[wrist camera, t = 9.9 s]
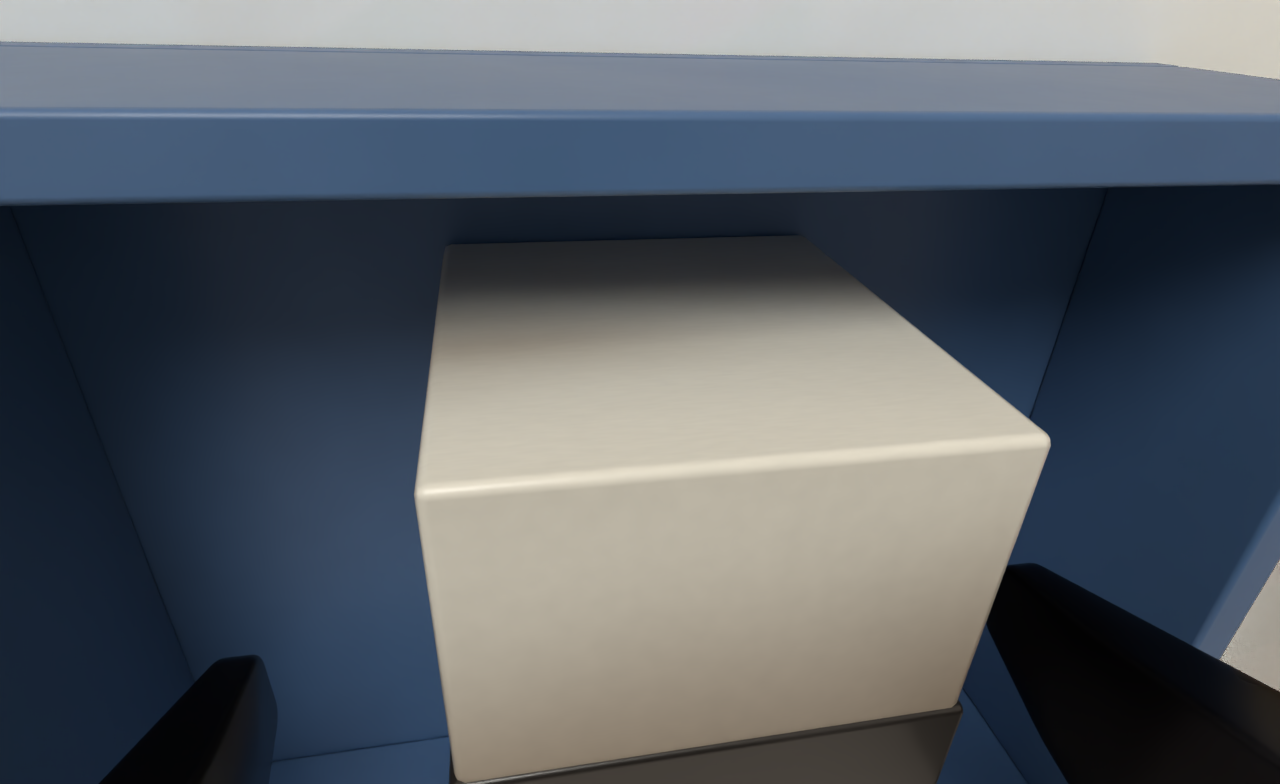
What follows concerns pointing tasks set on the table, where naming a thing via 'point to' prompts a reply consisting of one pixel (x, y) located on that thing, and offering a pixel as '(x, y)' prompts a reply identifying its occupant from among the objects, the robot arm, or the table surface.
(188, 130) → the blue tote
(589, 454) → the parcel
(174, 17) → the table surface
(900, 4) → the table surface
